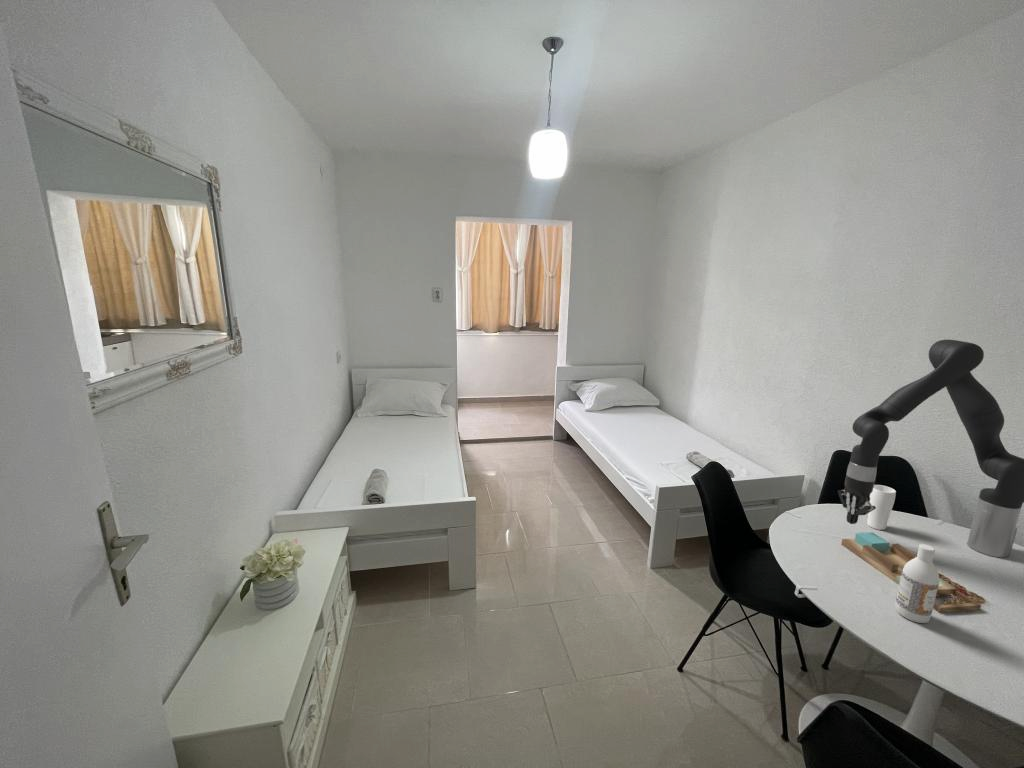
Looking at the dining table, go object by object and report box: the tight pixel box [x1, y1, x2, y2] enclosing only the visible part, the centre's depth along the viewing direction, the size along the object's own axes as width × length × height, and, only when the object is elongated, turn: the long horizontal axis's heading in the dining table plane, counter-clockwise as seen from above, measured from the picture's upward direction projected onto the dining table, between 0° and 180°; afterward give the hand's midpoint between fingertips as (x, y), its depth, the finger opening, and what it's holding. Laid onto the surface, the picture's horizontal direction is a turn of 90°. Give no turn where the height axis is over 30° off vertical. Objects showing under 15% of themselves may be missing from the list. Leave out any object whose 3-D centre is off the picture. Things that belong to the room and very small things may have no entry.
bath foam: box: [894, 543, 940, 624], centre depth 112 cm, size 7×7×20 cm
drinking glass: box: [866, 484, 897, 531], centre depth 154 cm, size 7×7×15 cm
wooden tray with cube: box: [841, 538, 982, 614], centre depth 130 cm, size 12×32×4 cm, turn 5°
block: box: [854, 531, 890, 552], centre depth 140 cm, size 6×6×3 cm
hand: (851, 522), depth 148 cm, fingers closed
